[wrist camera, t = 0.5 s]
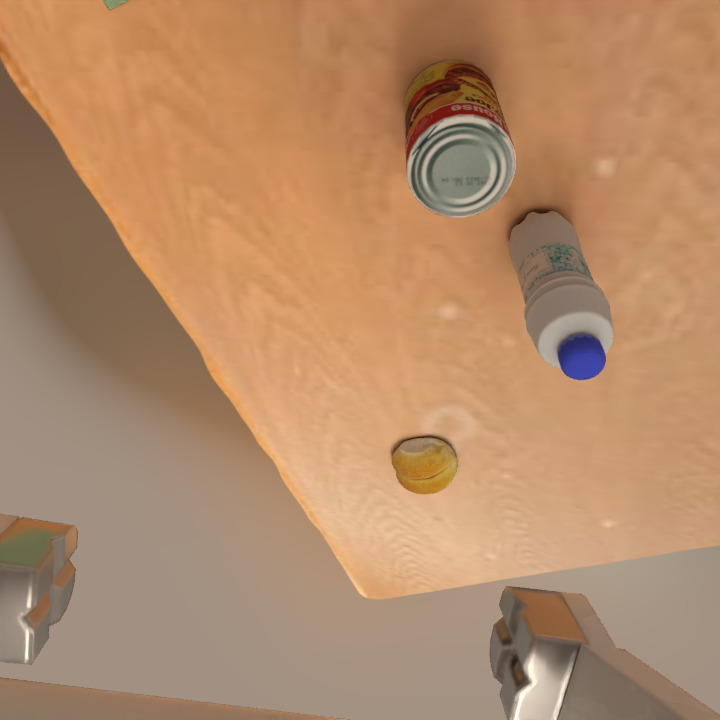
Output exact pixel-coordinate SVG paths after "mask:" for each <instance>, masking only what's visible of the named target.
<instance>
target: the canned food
mask: <svg viewBox="0 0 720 720" xmlns="http://www.w3.org/2000/svg"><path fill="white" fill-rule="evenodd" d="M404 128H405V149H406V169H407V178H408V182H409V186H410V189H411V191H412V193H413V194H414V196H415V198H416V199H417V200H418V201H419V202H420V203H421V204H422V205H423V206H424V207H425V208H426V209H428V210H430V211H432V212H434V213H436V214H438V215H442V216H446V217H468V216H472V215H476V214H479V213H481V212H483V211H485V210H487V209H489V208H491V207H492V206H493V205H494V204H495V203H497V202H498V201H499V200H500V199H501V198H502V197H503V196H504V194H505V193H506V192H507V190H508V189H509V187H510V185H511V183H512V180H513V178H514V176H515V169H516V155H515V148H514V145H513V142H512V140H511V137H510V134H509V131H508V128H507V125H506V122H505V119H504V116H503V113H502V111H501V108H500V105H499V102H498V99H497V96H496V93H495V90H494V88H493V86H492V84H491V81H490V79H489V78H488V77H487V76H486V75H485V73H484V72H483V71H482V70H481V69H479V68H478V67H476V66H474V65H473V64H471V63H468V62H464V61H461V60H446V61H442V62H439V63H435V64H433V65H431V66H430V67H428V68H426V69H425V70H423V71H422V72H421V73H420V74H419V75H418V76H417V77H416V78H415V79H414V80H413V82H412V84H411V86H410V87H409V89H408V91H407V94H406V98H405V101H404Z"/></svg>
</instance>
